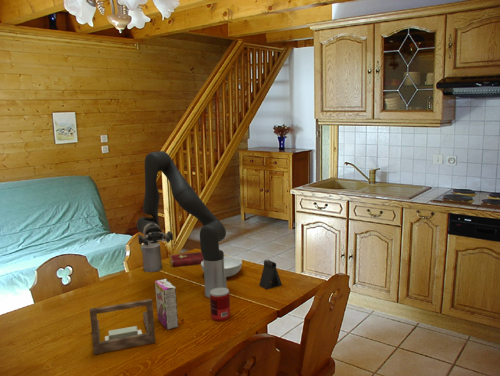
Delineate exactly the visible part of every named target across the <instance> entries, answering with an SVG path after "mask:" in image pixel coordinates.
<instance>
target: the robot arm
mask: <svg viewBox="0 0 500 376" xmlns="http://www.w3.org/2000/svg"><path fill="white" fill-rule="evenodd" d="M159 172H161V173H162V174H163V175H164V176H165V177H166V178H167V180H168V182H169V185H170V189H171V193H172V197H173V198H174V200H175V201H176V203H177V204H178V205H179V206H180V207H181V209H182V210H184V211H185V212H186V213H188V214H190V215H191V216H192V217H194V218H196V219H197V220H198V221H199V222H200V223H201V224H202V227H201V228H200V230H199V243H200V245H199V246H200V252H202V255H203V261H204V271H203V274H204V275H203V276H204V277H203V278H204V295H205V297H206V298H208V299H210V291H211V290H212V289H215V288H227V289H228V287H227V286H228V285H227V277H226V275H225V270H224V256H225V254H224V251H223V250H221V249H220V246H219V245H220V244H219V243H220V242H222V241H223V240H224V239H225V238H226V235H227V231H226V228H225V226H224V224H223V223H222V222H221V221H220V220H219V218H217V216H215V215H214V214H213V213H212V211H211V210H210V209H209V208H208V207H207V205H206V204H205V203H204V201H203V200H202V199H201V198H200V196H199V195H198V194H197V192H196V191H195V190H194V188H193V187H192V186H191V185H190V184H189V182H188V181H187V179H186V178H185V177H184V176H183V174H182V173H181V172H180V170H179V169H178V167H177V166H176V164H175V162H174V160H173V159H172V157H171V156H170V154H168V153H167V152H166V151H163V150H159V151H152V152H149V153H147V155H145V158H144V198H143V206H142V212H143V213H144V214H147V215H149V216H148V217H147V216H141V217H139V218H138V220H137V221H136V230H137V231H138V232H139V233H141V234H143V235H141V234H137V236H138V237H137V239H138V244H139V245H143V244H145V245H146V246H147V245H148V243H160V242H166V243H167V244H168V243H170V242H171V241H173V240H174V234H173V232H172V231H170V230H169V231H166V233H165V232H163V231H162V229H161V226H160V220H159V207H160V206H159V205H160V192H159V188H158V184H157V183H158V182H157V180H158V175H159ZM150 216H152V217H150Z"/></svg>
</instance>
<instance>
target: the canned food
mask: <svg viewBox="0 0 500 376" xmlns="http://www.w3.org/2000/svg"><path fill="white" fill-rule="evenodd" d="M230 296H231V295H230V289H229V288H228V287H227V288H215V289H212V290H211V291H210V298H209V300H210V301H209V303H210V305H209V306H210V317H211V319H212V320H213V321H216V322H222V321H226V320H228V319H230V316H231V301H230V299H231V298H230Z"/></svg>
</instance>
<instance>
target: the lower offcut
mask: <svg viewBox="0 0 500 376" xmlns="http://www.w3.org/2000/svg"><path fill="white" fill-rule="evenodd" d="M137 331H138V335H139V334H143V332H142V329H137ZM107 340H109V335H105V336H104V341H107Z"/></svg>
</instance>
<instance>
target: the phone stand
mask: <svg viewBox="0 0 500 376" xmlns="http://www.w3.org/2000/svg"><path fill="white" fill-rule="evenodd" d="M258 284H259V286H260V287H261V288H263V289H265V290H270V289H273V288H277V287H281V286H282V285H283V283H282V281H281V277H280V275H279V273H278V269H277V262H274V261H273V260H270V259H265V260H264V261H263V270H262V272H261V277H260V281H259V283H258Z"/></svg>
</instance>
